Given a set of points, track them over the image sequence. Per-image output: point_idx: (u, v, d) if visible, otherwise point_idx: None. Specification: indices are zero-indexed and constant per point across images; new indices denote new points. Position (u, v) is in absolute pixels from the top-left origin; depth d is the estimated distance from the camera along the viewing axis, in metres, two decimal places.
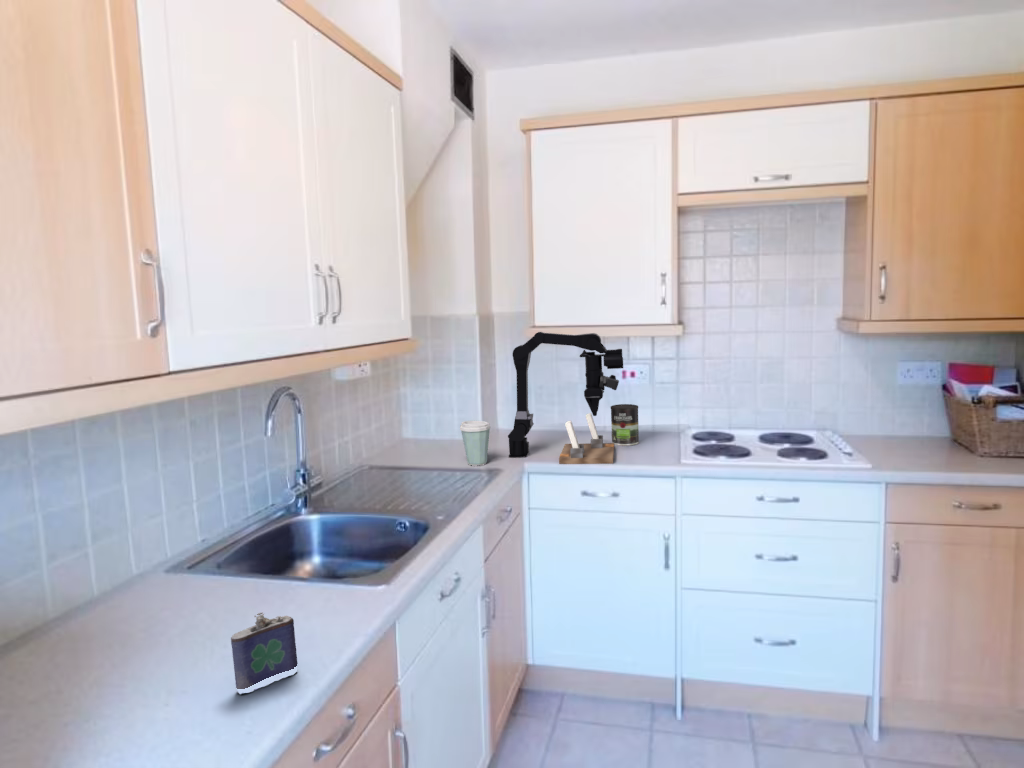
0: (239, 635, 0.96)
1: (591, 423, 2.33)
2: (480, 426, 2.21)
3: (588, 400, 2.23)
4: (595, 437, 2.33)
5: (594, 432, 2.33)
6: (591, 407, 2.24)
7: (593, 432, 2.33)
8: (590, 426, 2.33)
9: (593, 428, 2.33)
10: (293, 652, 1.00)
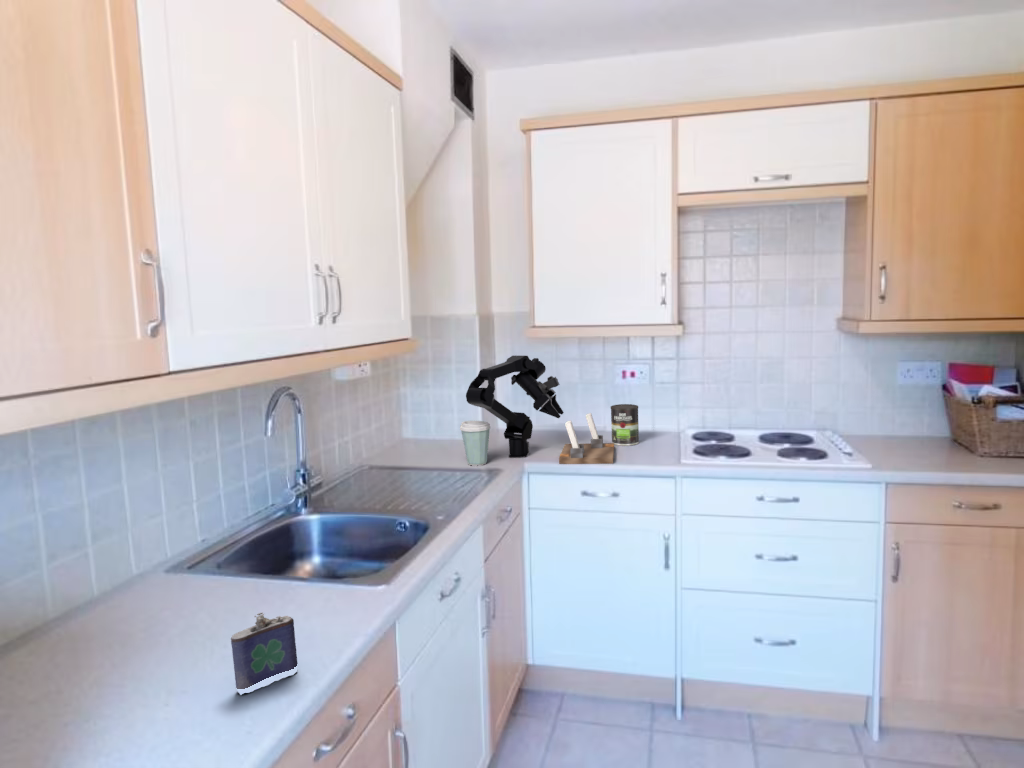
0: (239, 635, 0.96)
1: (591, 423, 2.33)
2: (480, 426, 2.21)
3: (543, 410, 2.31)
4: (595, 437, 2.33)
5: (594, 432, 2.33)
6: (551, 413, 2.31)
7: (593, 432, 2.33)
8: (590, 426, 2.33)
9: (593, 428, 2.33)
10: (293, 652, 1.00)
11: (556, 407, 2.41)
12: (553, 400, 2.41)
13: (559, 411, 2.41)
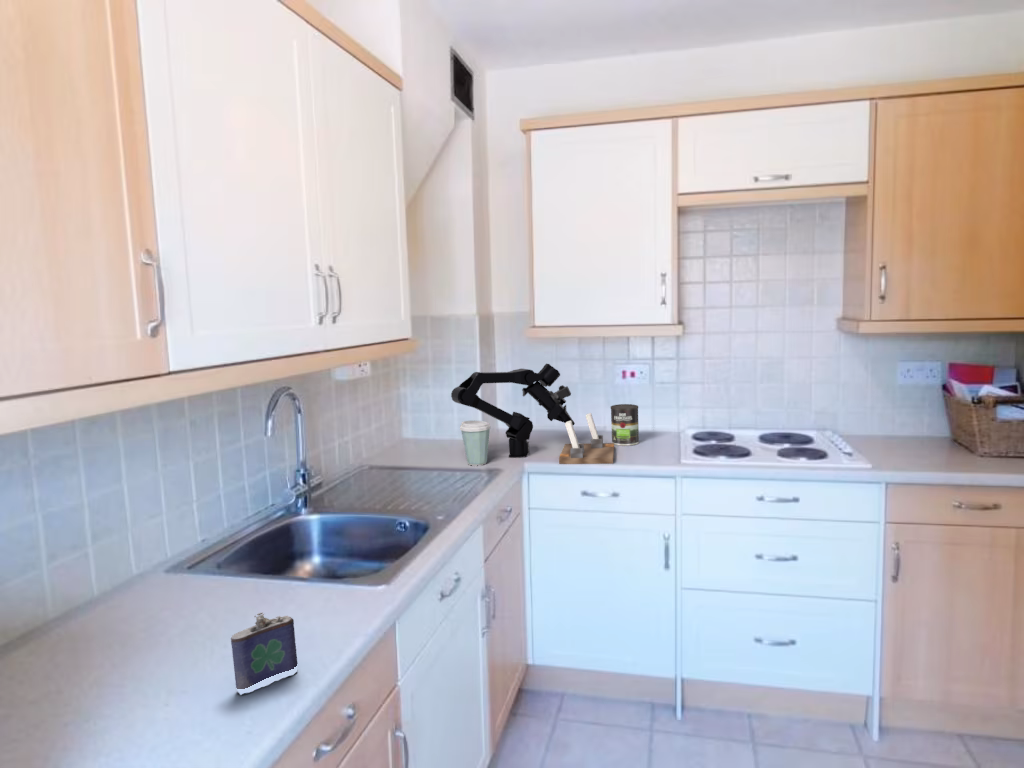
0: (239, 635, 0.96)
1: (591, 423, 2.33)
2: (480, 426, 2.21)
3: (558, 418, 2.35)
4: (595, 437, 2.33)
5: (594, 432, 2.33)
6: (565, 421, 2.36)
7: (593, 432, 2.33)
8: (590, 426, 2.33)
9: (593, 428, 2.33)
10: (293, 652, 1.00)
11: None
12: None
13: None
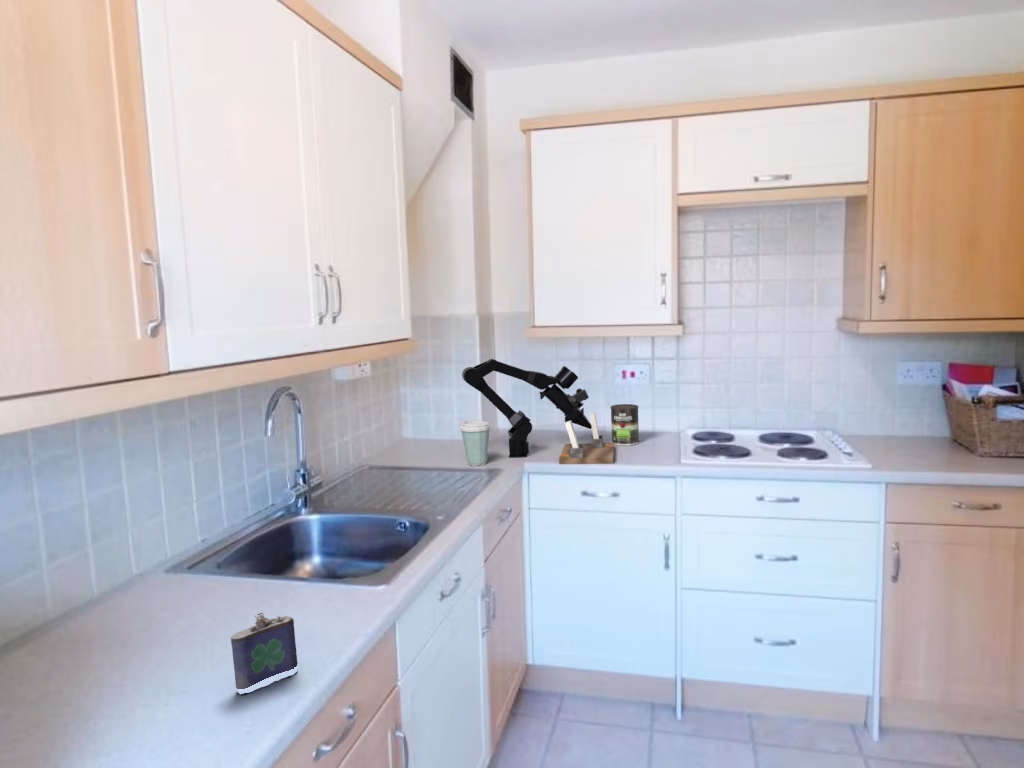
0: (239, 635, 0.96)
1: (594, 423, 2.33)
2: (480, 426, 2.21)
3: (575, 422, 2.34)
4: (596, 437, 2.33)
5: (595, 431, 2.33)
6: (583, 424, 2.34)
7: (594, 432, 2.33)
8: (592, 425, 2.33)
9: (595, 427, 2.33)
10: (293, 652, 1.00)
11: None
12: None
13: None
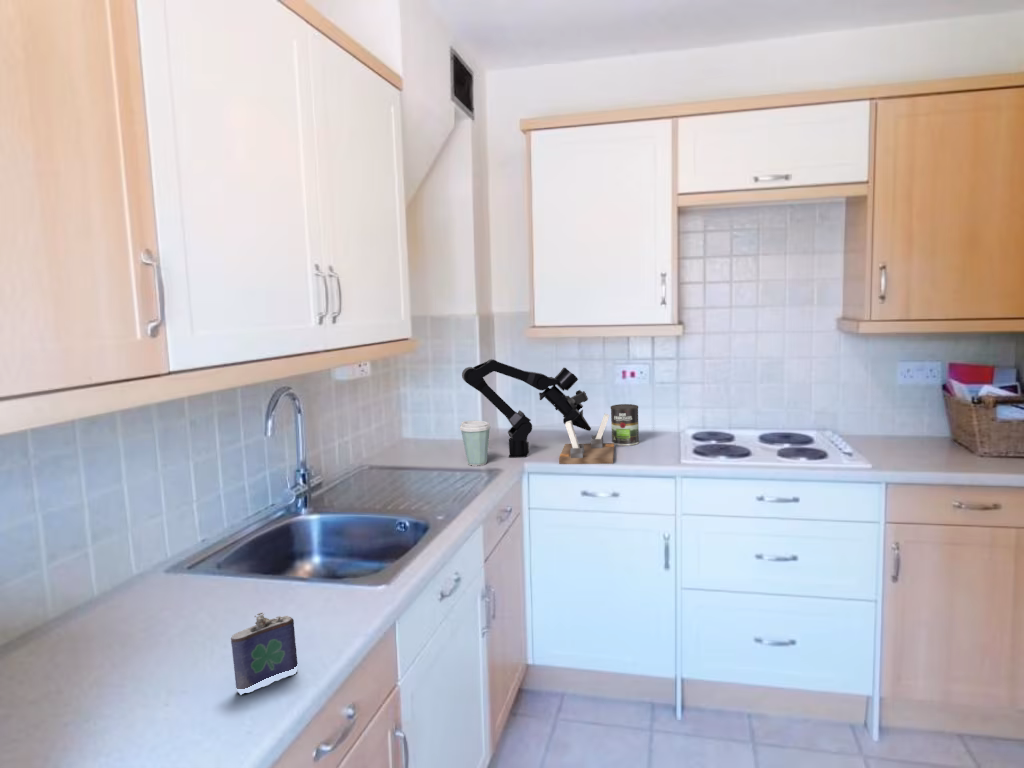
0: (239, 635, 0.96)
1: (604, 424, 2.32)
2: (480, 426, 2.21)
3: (574, 423, 2.34)
4: (599, 437, 2.33)
5: (601, 433, 2.33)
6: (581, 426, 2.34)
7: (600, 432, 2.33)
8: (601, 426, 2.32)
9: (603, 429, 2.33)
10: (293, 652, 1.00)
11: None
12: None
13: None
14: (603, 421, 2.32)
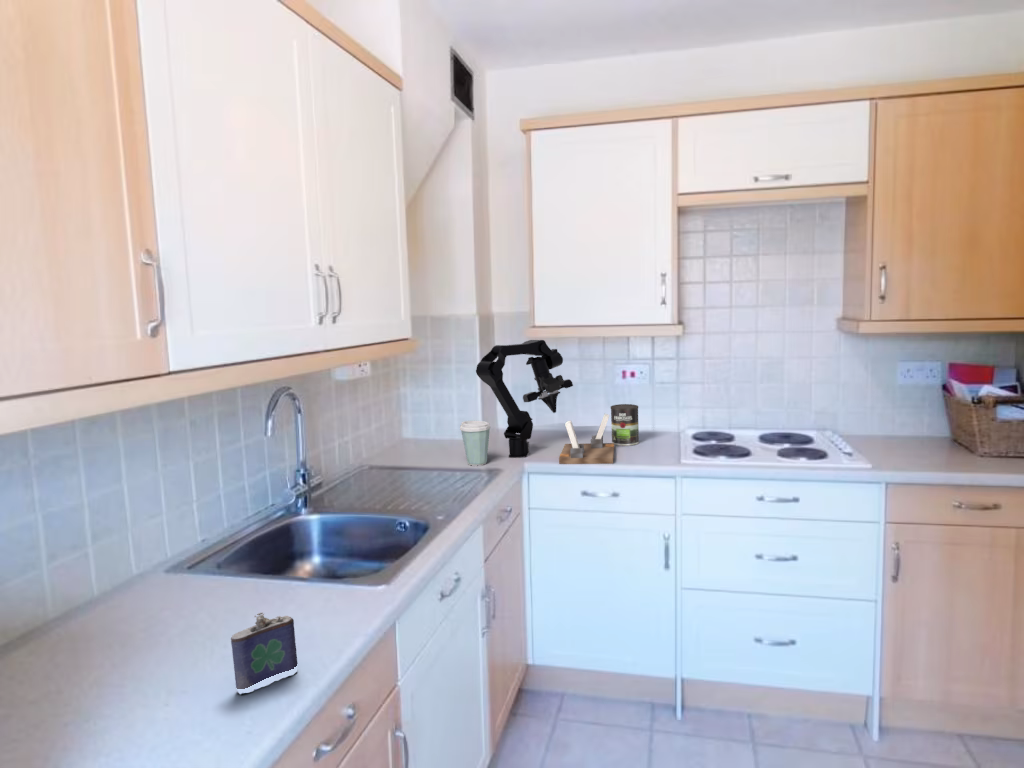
0: (239, 635, 0.96)
1: (604, 424, 2.32)
2: (480, 426, 2.21)
3: (543, 400, 2.43)
4: (599, 437, 2.33)
5: (601, 433, 2.33)
6: (548, 405, 2.43)
7: (600, 432, 2.33)
8: (601, 426, 2.32)
9: (603, 429, 2.33)
10: (293, 652, 1.00)
11: None
12: (552, 397, 2.41)
13: None
14: (603, 421, 2.32)
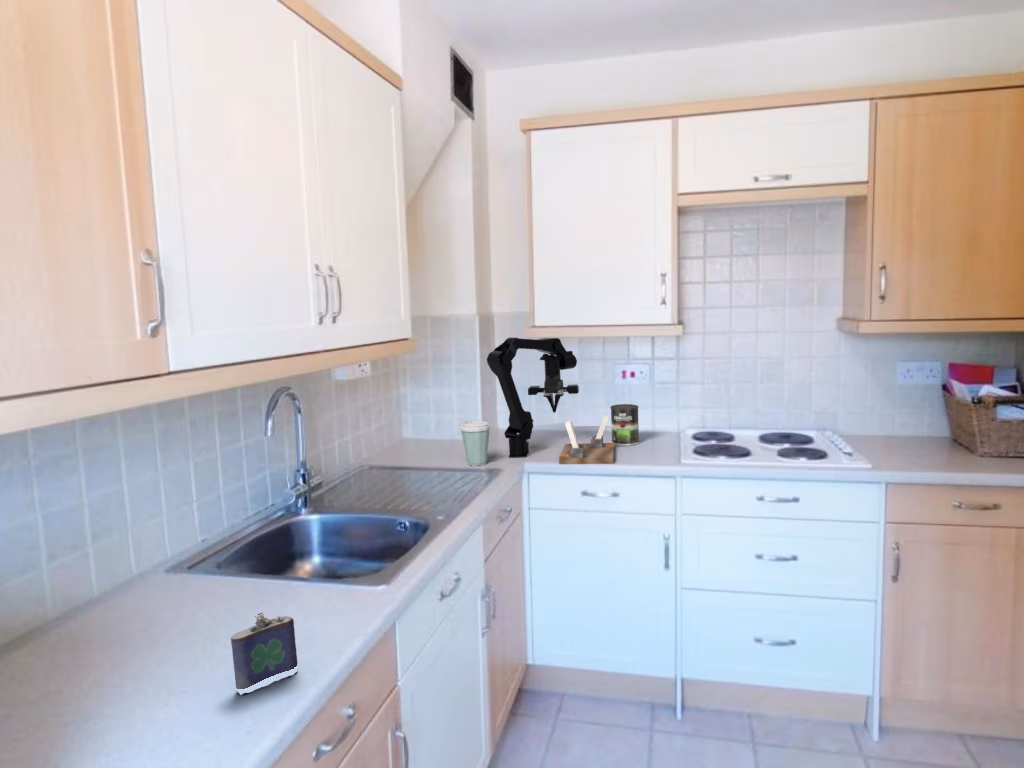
0: (239, 635, 0.96)
1: (604, 424, 2.32)
2: (480, 426, 2.21)
3: None
4: (599, 437, 2.33)
5: (601, 433, 2.33)
6: None
7: (600, 432, 2.33)
8: (601, 426, 2.32)
9: (603, 429, 2.33)
10: (293, 652, 1.00)
11: (554, 404, 2.46)
12: (555, 397, 2.44)
13: None
14: (603, 421, 2.32)
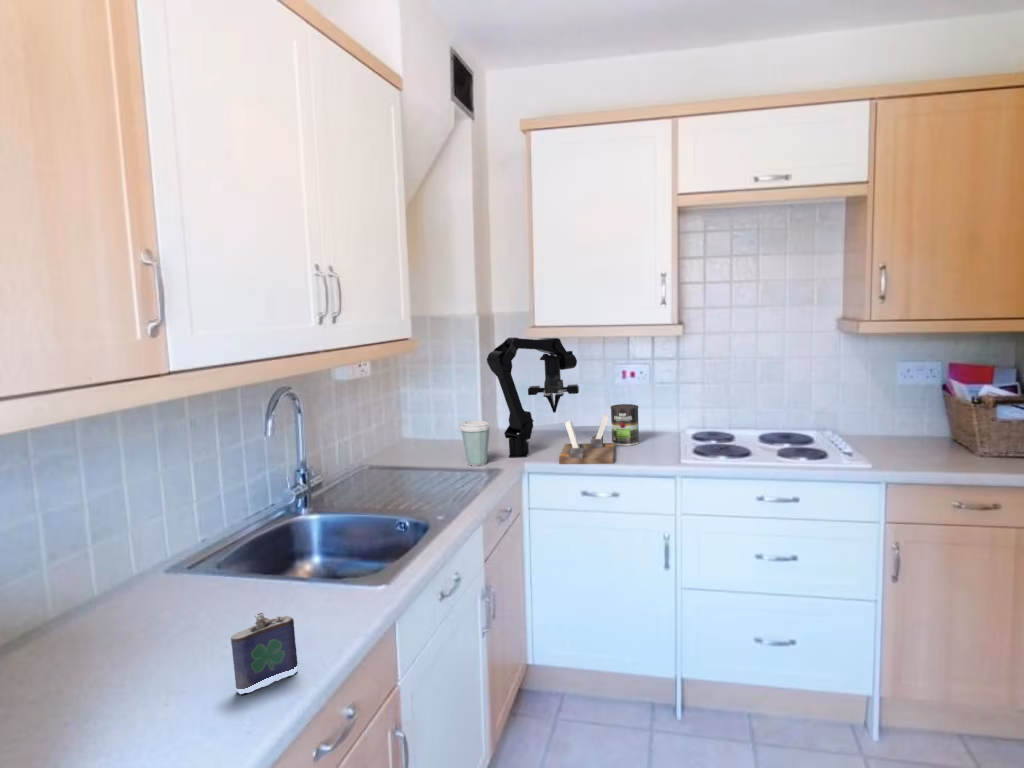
0: (239, 635, 0.96)
1: (604, 424, 2.32)
2: (480, 426, 2.21)
3: None
4: (599, 437, 2.33)
5: (601, 433, 2.33)
6: None
7: (600, 432, 2.33)
8: (601, 426, 2.32)
9: (603, 429, 2.33)
10: (293, 652, 1.00)
11: (554, 404, 2.46)
12: (555, 397, 2.44)
13: None
14: (603, 421, 2.32)
